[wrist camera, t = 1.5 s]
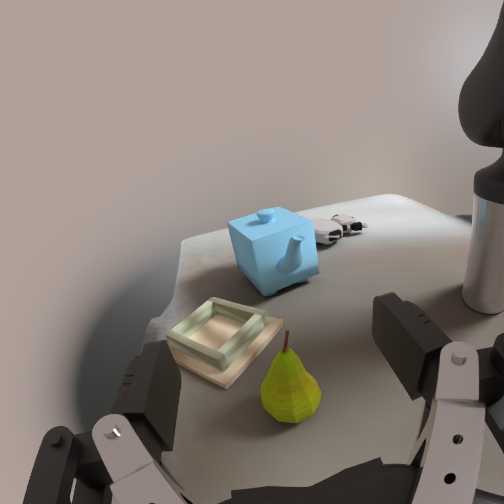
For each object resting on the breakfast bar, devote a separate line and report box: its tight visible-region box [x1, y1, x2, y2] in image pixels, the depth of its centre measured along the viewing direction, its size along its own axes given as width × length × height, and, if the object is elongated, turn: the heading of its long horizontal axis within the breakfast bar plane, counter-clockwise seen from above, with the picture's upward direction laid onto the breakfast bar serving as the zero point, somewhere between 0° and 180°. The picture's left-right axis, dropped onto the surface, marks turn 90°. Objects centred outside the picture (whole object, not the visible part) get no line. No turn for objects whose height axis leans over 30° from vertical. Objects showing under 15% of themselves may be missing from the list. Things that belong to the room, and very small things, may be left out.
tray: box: [166, 297, 284, 389], centre depth 42 cm, size 14×14×4 cm
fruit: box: [260, 331, 322, 423], centre depth 26 cm, size 6×6×12 cm
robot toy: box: [311, 215, 368, 245], centre depth 68 cm, size 12×4×15 cm
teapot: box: [227, 207, 319, 296], centre depth 52 cm, size 22×11×14 cm, turn 22°
